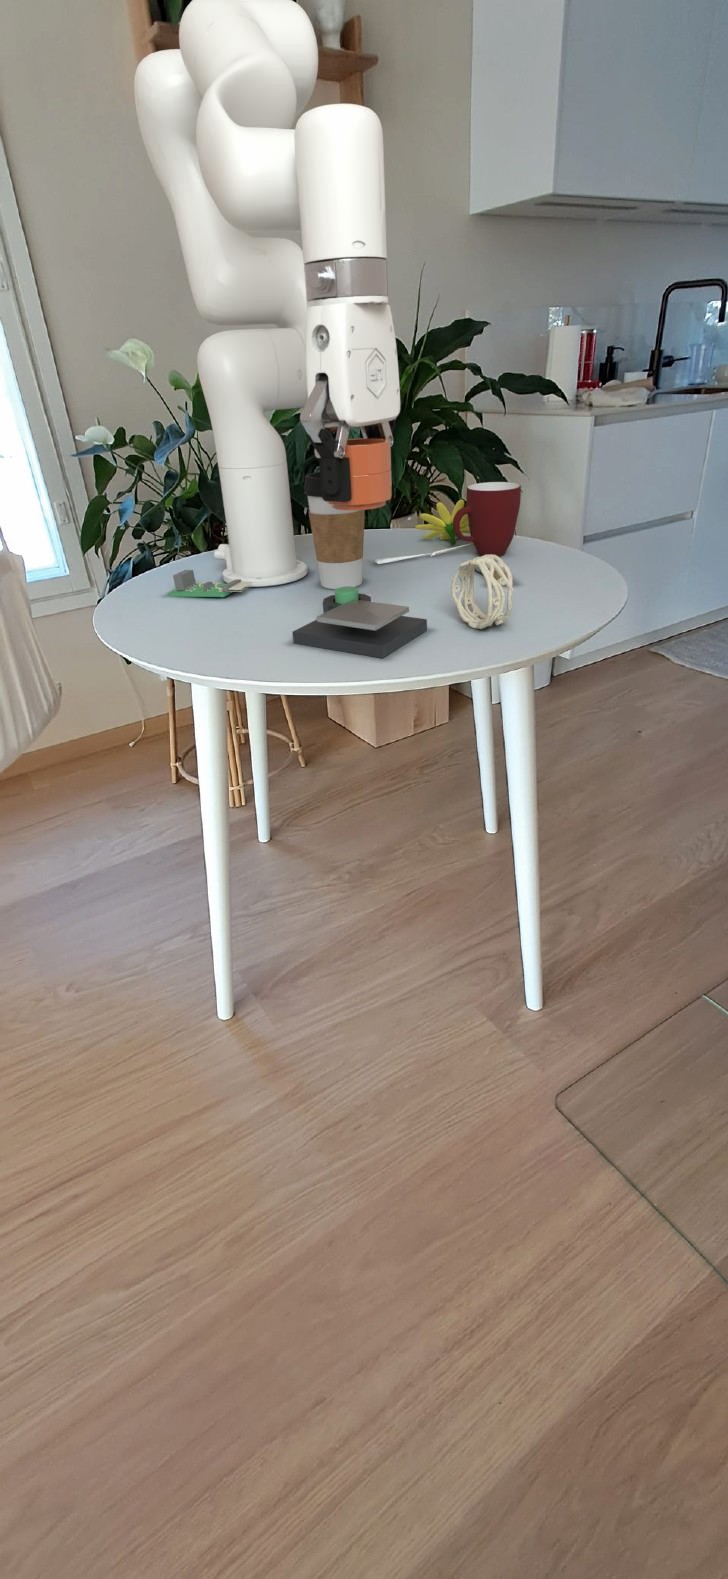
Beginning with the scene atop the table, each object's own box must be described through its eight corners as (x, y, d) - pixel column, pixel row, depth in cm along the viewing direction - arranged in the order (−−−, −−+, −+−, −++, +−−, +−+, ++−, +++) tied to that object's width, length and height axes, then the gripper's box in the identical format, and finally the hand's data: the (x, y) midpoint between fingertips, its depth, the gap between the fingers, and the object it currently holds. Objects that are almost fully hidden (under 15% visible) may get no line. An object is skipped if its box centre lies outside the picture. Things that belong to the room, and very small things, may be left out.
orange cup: (312, 509, 78) (307, 445, 75) (349, 498, 83) (346, 438, 80) (369, 513, 74) (365, 446, 71) (404, 501, 79) (402, 438, 76)
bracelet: (473, 615, 93) (474, 548, 89) (517, 631, 87) (520, 560, 83) (446, 621, 91) (447, 553, 87) (489, 638, 85) (491, 566, 81)
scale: (287, 642, 87) (284, 616, 86) (341, 614, 95) (340, 590, 94) (382, 658, 81) (381, 631, 80) (432, 627, 89) (432, 602, 88)
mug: (470, 566, 113) (471, 495, 108) (442, 555, 119) (442, 488, 114) (528, 555, 117) (532, 486, 112) (498, 546, 123) (500, 480, 118)
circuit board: (253, 567, 106) (236, 577, 102) (257, 589, 107) (240, 600, 103) (183, 568, 110) (163, 577, 106) (188, 589, 112) (168, 599, 108)
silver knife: (480, 543, 123) (370, 563, 118) (480, 537, 123) (370, 556, 118) (492, 549, 120) (380, 570, 115) (492, 543, 120) (379, 563, 115)
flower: (439, 492, 118) (501, 511, 123) (402, 532, 128) (461, 548, 133) (442, 515, 117) (504, 533, 122) (403, 553, 126) (463, 569, 132)
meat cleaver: (527, 578, 103) (495, 584, 102) (526, 587, 104) (494, 592, 102) (482, 555, 112) (452, 560, 111) (481, 563, 113) (452, 568, 111)
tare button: (330, 604, 90) (329, 591, 90) (343, 598, 92) (342, 585, 92) (350, 607, 89) (349, 593, 88) (363, 600, 91) (362, 587, 90)
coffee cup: (364, 592, 104) (358, 474, 96) (305, 591, 105) (294, 476, 98) (376, 575, 111) (371, 465, 103) (320, 575, 113) (311, 466, 105)
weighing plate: (316, 622, 84) (316, 616, 83) (352, 604, 89) (352, 599, 88) (375, 630, 80) (375, 625, 80) (409, 611, 85) (409, 606, 85)
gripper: (326, 280, 61) (341, 511, 70) (428, 287, 74) (430, 482, 82) (254, 289, 65) (277, 508, 74) (362, 294, 77) (371, 480, 86)
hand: (358, 493), depth 78 cm, fingers closed on orange cup, 7 cm apart
